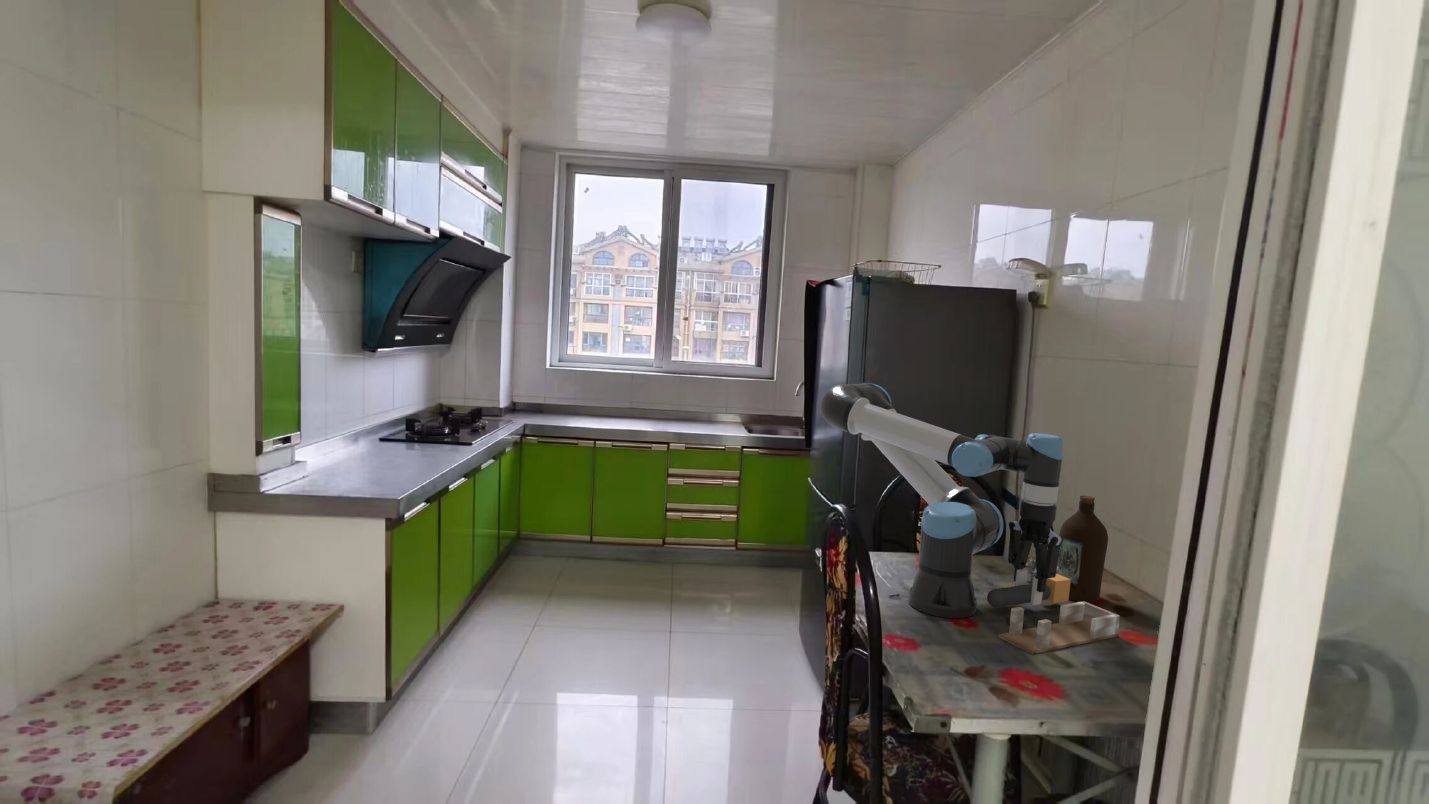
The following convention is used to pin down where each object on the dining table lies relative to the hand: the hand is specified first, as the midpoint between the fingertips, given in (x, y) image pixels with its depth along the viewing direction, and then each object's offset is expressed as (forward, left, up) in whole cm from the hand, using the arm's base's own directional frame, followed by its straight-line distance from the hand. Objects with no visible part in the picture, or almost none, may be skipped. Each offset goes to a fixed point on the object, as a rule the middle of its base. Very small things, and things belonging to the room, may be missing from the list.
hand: (1027, 600), depth 167 cm
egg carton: (-15, +22, -3) cm, 27 cm away
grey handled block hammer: (0, -1, 0) cm, 1 cm away
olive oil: (-2, +20, -3) cm, 20 cm away
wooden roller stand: (+14, -6, -2) cm, 15 cm away
